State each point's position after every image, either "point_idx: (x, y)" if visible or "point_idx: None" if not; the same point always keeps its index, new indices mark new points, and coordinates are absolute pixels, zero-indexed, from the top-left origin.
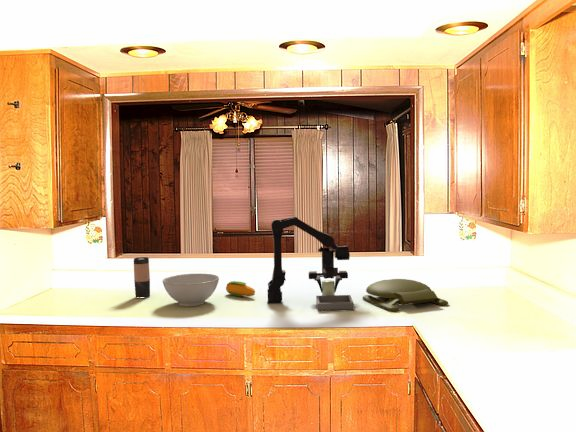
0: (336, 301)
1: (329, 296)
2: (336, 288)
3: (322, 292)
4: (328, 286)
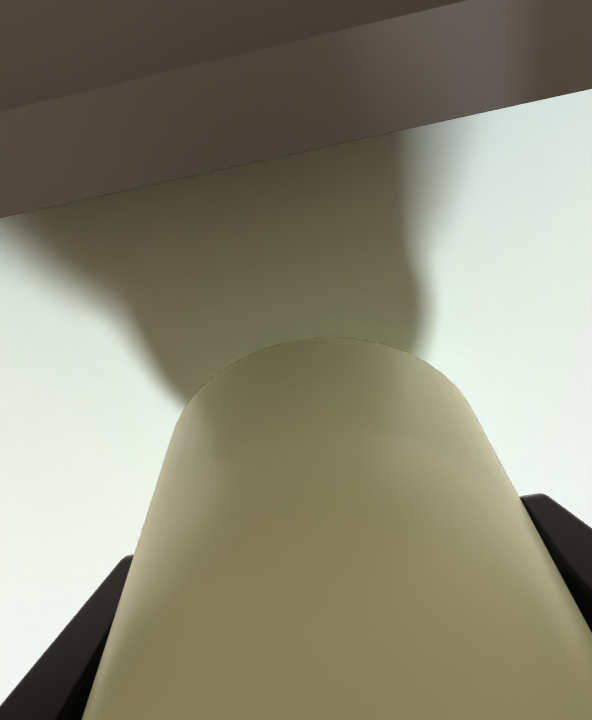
0: (17, 104)
1: (206, 66)
2: (31, 672)
3: (513, 489)
4: (305, 660)
